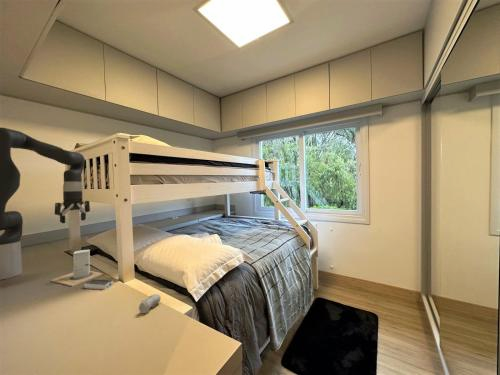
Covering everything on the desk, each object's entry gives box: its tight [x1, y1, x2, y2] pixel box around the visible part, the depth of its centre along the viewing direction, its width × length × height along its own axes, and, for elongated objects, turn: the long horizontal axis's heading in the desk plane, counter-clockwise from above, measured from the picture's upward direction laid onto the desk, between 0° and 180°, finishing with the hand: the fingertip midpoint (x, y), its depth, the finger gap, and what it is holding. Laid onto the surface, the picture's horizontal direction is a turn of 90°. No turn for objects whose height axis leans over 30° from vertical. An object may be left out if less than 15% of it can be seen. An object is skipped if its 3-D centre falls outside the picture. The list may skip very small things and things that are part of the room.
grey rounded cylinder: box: [138, 293, 161, 314], centre depth 73 cm, size 4×8×5 cm
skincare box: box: [72, 249, 91, 278], centre depth 100 cm, size 6×4×12 cm
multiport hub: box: [84, 278, 114, 291], centre depth 90 cm, size 4×11×2 cm, turn 79°
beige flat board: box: [50, 270, 104, 287], centre depth 100 cm, size 17×13×1 cm
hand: (73, 221), depth 105 cm, fingers open, 8 cm apart
